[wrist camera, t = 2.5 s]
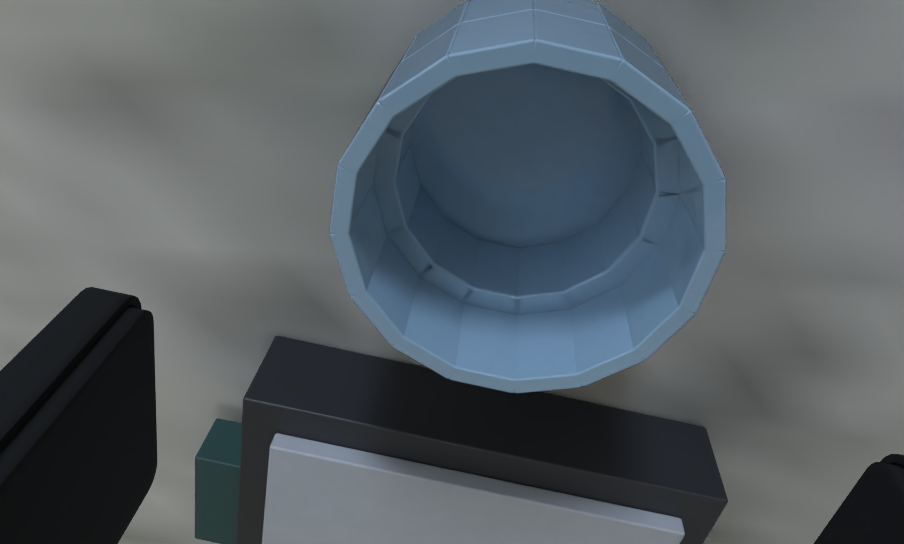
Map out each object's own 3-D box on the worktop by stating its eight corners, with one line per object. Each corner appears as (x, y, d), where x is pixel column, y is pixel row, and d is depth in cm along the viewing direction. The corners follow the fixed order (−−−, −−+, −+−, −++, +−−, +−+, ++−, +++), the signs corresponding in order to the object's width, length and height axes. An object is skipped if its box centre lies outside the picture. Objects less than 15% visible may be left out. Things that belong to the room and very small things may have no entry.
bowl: (406, -46, 16) (355, -2, 11) (720, 26, 16) (798, 98, 12) (364, 232, 20) (314, 351, 15) (618, 288, 20) (646, 423, 15)
